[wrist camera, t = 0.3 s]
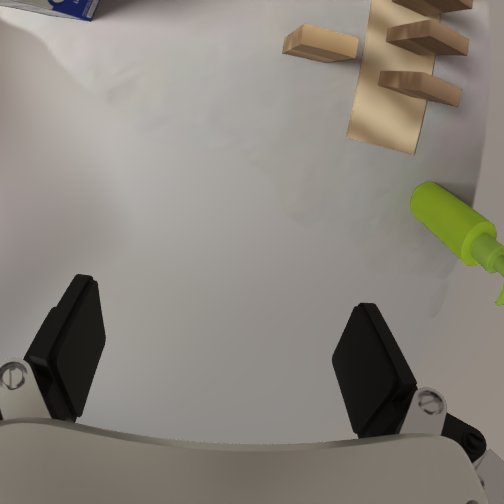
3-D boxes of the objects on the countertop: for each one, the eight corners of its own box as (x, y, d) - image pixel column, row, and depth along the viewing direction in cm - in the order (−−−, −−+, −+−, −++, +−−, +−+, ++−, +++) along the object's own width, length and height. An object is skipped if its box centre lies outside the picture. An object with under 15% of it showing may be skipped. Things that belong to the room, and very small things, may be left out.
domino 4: (380, 70, 32) (424, 72, 23) (413, 82, 33) (461, 89, 24) (377, 85, 33) (420, 90, 24) (411, 96, 34) (458, 107, 25)
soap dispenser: (407, 227, 44) (485, 314, 26) (411, 182, 40) (505, 256, 23) (438, 223, 44) (519, 302, 26) (444, 181, 40) (538, 249, 23)
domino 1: (284, 37, 30) (304, 23, 22) (327, 47, 31) (358, 38, 22) (282, 53, 31) (300, 44, 23) (324, 62, 32) (355, 58, 23)
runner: (378, -59, 23) (379, -60, 22) (442, -29, 24) (443, -30, 24) (346, 136, 37) (347, 137, 36) (412, 154, 38) (413, 155, 38)
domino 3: (387, 28, 29) (432, 19, 21) (421, 41, 30) (469, 39, 21) (385, 41, 30) (430, 36, 22) (418, 55, 31) (467, 55, 22)
